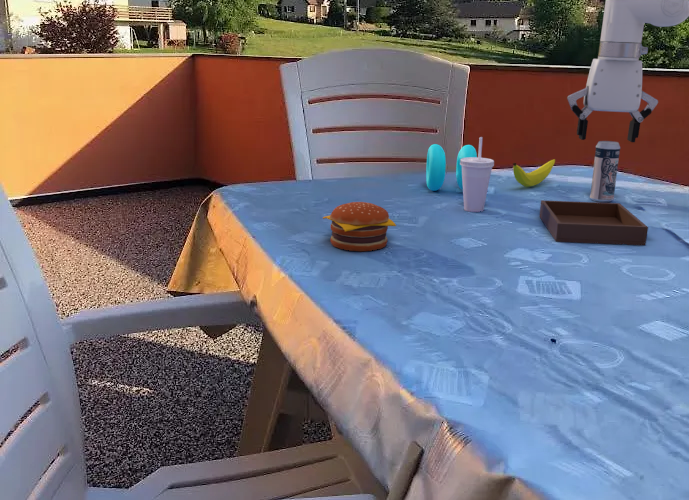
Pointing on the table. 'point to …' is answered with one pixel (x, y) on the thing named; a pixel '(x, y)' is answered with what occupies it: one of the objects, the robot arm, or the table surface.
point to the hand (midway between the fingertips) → (606, 140)
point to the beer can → (605, 171)
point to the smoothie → (475, 180)
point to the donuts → (444, 165)
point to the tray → (592, 223)
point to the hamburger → (359, 226)
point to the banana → (532, 174)
